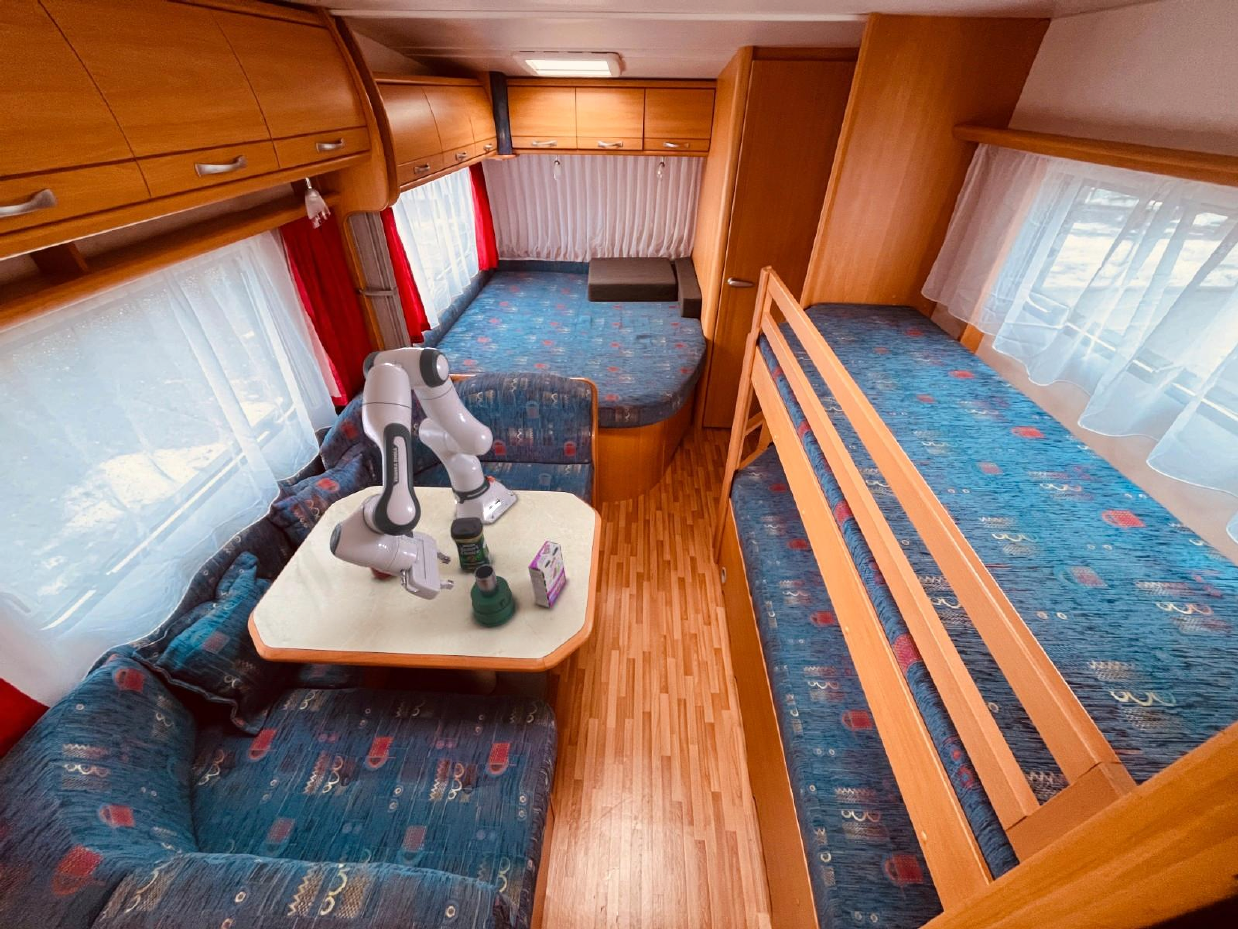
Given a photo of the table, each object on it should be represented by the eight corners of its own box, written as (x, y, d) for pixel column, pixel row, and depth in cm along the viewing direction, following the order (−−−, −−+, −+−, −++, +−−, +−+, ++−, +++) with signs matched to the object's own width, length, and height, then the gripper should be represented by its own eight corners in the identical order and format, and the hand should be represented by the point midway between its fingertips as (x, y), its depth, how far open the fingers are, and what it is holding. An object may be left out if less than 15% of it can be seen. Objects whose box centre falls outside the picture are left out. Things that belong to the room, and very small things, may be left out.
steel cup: (490, 579, 136) (485, 561, 132) (503, 588, 133) (498, 570, 129) (475, 591, 133) (470, 573, 128) (487, 600, 130) (482, 582, 126)
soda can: (389, 582, 148) (376, 555, 141) (369, 579, 149) (355, 552, 142) (402, 565, 154) (391, 538, 147) (382, 562, 155) (370, 535, 148)
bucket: (497, 587, 145) (492, 567, 140) (524, 606, 139) (519, 586, 134) (465, 613, 138) (458, 593, 133) (492, 635, 132) (486, 615, 126)
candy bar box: (552, 576, 148) (546, 539, 138) (566, 581, 147) (561, 543, 137) (535, 604, 140) (527, 566, 130) (550, 609, 138) (543, 571, 128)
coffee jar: (459, 574, 150) (445, 532, 139) (464, 556, 156) (451, 514, 145) (490, 572, 150) (478, 530, 139) (493, 554, 157) (482, 512, 146)
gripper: (408, 579, 108) (462, 593, 116) (407, 523, 123) (454, 539, 132) (394, 598, 109) (447, 611, 117) (394, 540, 125) (441, 555, 133)
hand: (451, 572), depth 125 cm, fingers open, 8 cm apart
